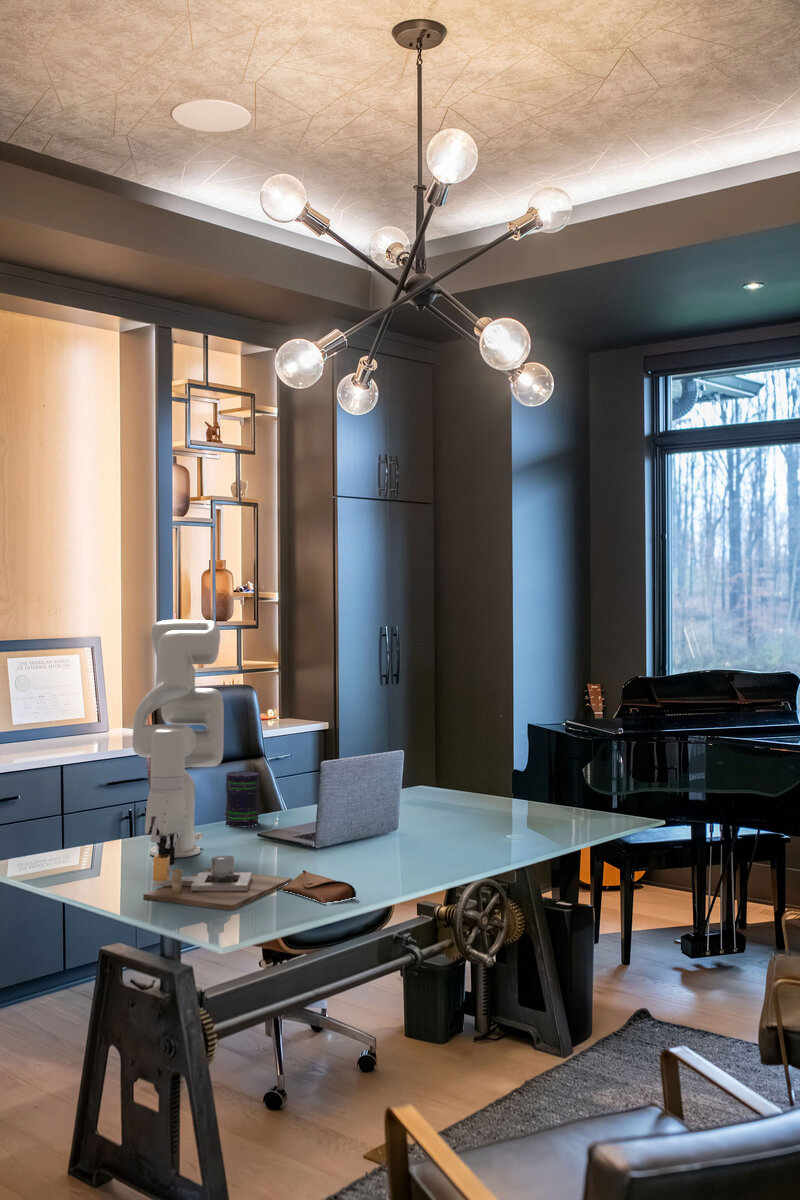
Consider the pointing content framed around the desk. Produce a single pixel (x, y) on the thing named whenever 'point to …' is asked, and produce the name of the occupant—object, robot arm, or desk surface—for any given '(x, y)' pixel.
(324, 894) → the sunglasses case
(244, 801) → the storage jar
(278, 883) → the base board
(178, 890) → the dowel
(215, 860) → the post
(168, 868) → the square frame with handle
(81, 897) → the desk surface
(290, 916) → the desk surface
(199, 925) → the desk surface
